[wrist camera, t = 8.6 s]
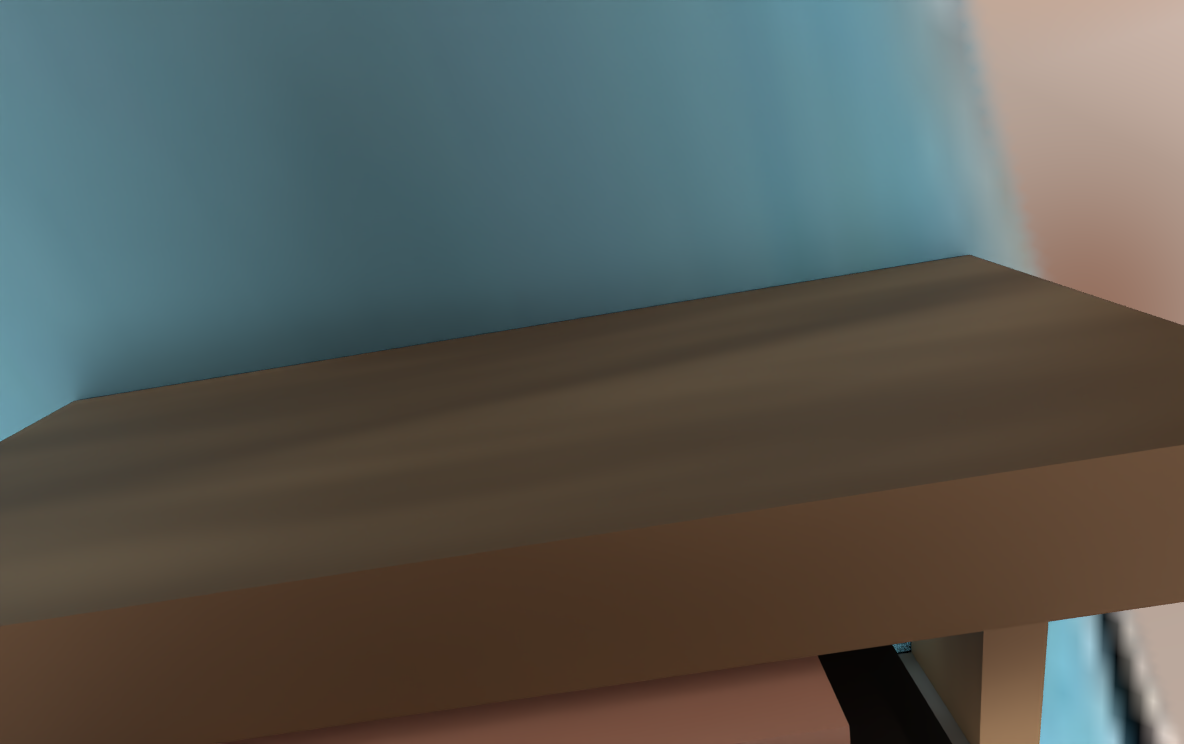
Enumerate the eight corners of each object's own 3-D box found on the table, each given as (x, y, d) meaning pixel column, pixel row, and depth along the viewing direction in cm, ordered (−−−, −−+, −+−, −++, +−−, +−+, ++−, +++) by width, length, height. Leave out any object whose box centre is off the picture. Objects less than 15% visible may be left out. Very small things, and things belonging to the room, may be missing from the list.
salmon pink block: (362, 452, 12) (120, 839, 6) (698, 393, 12) (849, 724, 6) (431, 663, 14) (307, 1152, 7) (728, 614, 14) (871, 1075, 7)
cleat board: (73, 401, 12) (-461, 697, 6) (970, 254, 11) (1429, 406, 5) (248, 793, 15) (23, 1257, 9) (959, 691, 14) (1243, 1107, 8)
